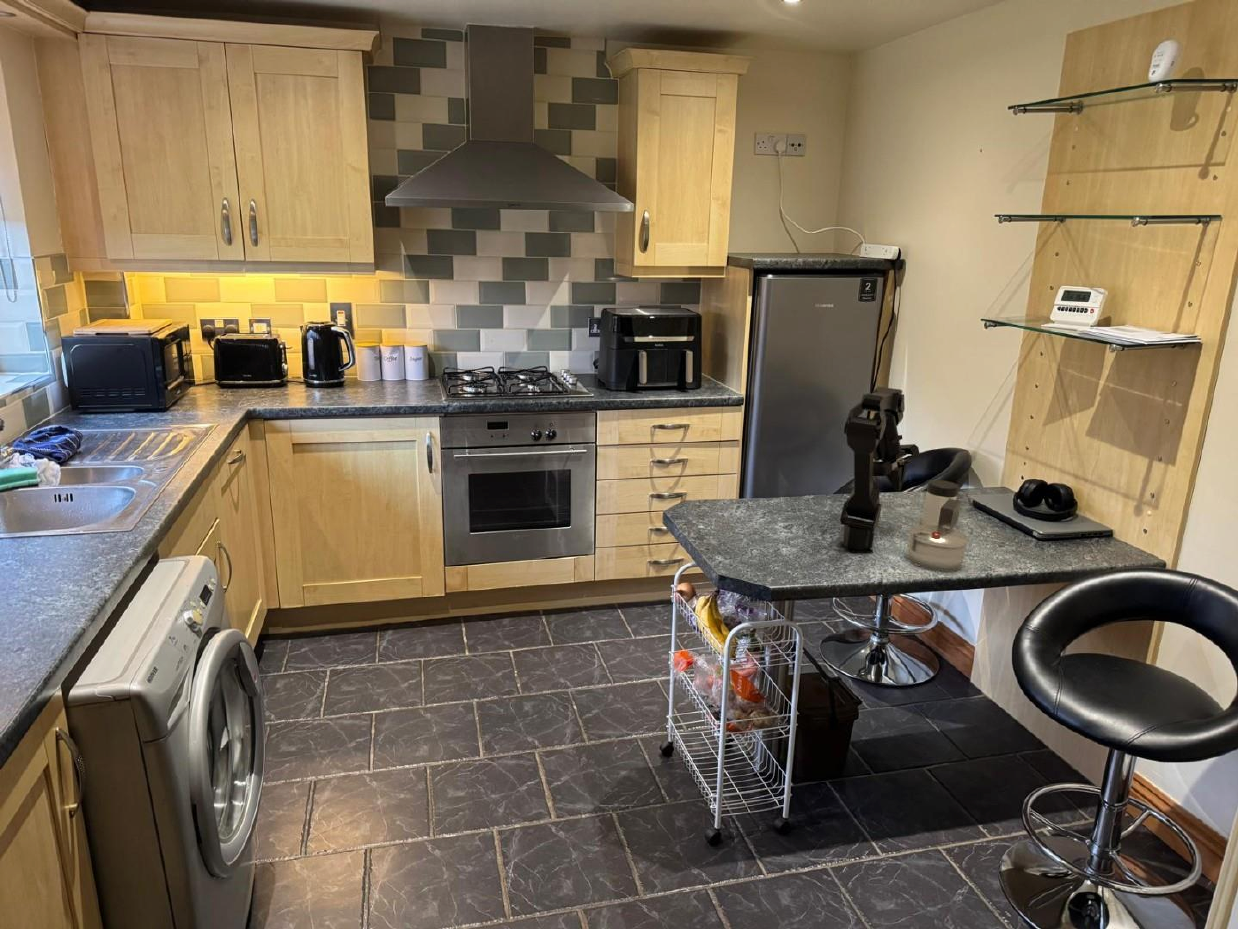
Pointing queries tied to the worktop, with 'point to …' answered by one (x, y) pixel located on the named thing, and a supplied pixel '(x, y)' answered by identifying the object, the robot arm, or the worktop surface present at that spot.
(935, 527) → the cooker lid
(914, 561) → the cooker pot
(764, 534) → the worktop surface
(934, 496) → the jar
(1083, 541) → the worktop surface
